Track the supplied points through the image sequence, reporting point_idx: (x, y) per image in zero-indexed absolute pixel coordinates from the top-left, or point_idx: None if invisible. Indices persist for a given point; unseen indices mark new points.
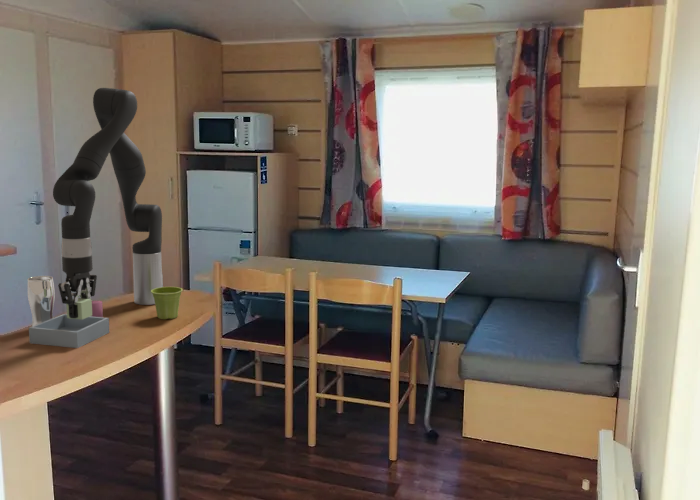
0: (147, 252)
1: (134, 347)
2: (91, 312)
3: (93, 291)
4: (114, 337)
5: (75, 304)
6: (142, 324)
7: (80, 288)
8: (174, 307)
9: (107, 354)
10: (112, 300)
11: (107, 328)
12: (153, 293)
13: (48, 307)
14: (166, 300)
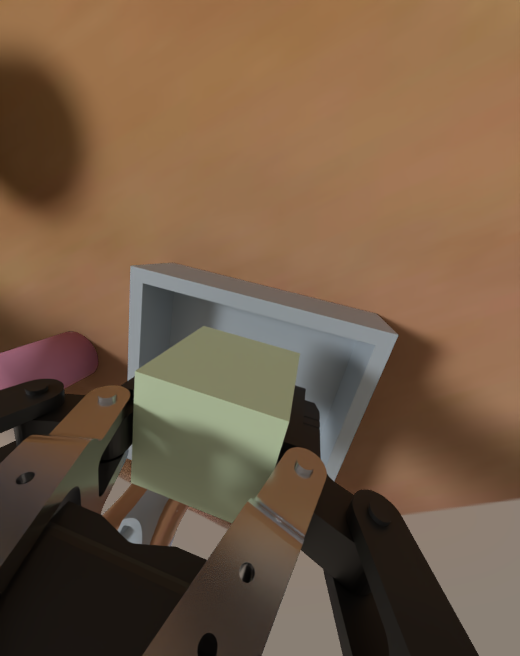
0: None
1: (381, 23)
2: (201, 333)
3: (5, 404)
4: (227, 215)
5: (314, 457)
6: (51, 166)
7: (192, 631)
8: None
9: (498, 133)
10: None
11: (172, 266)
12: None
13: (139, 529)
14: None
